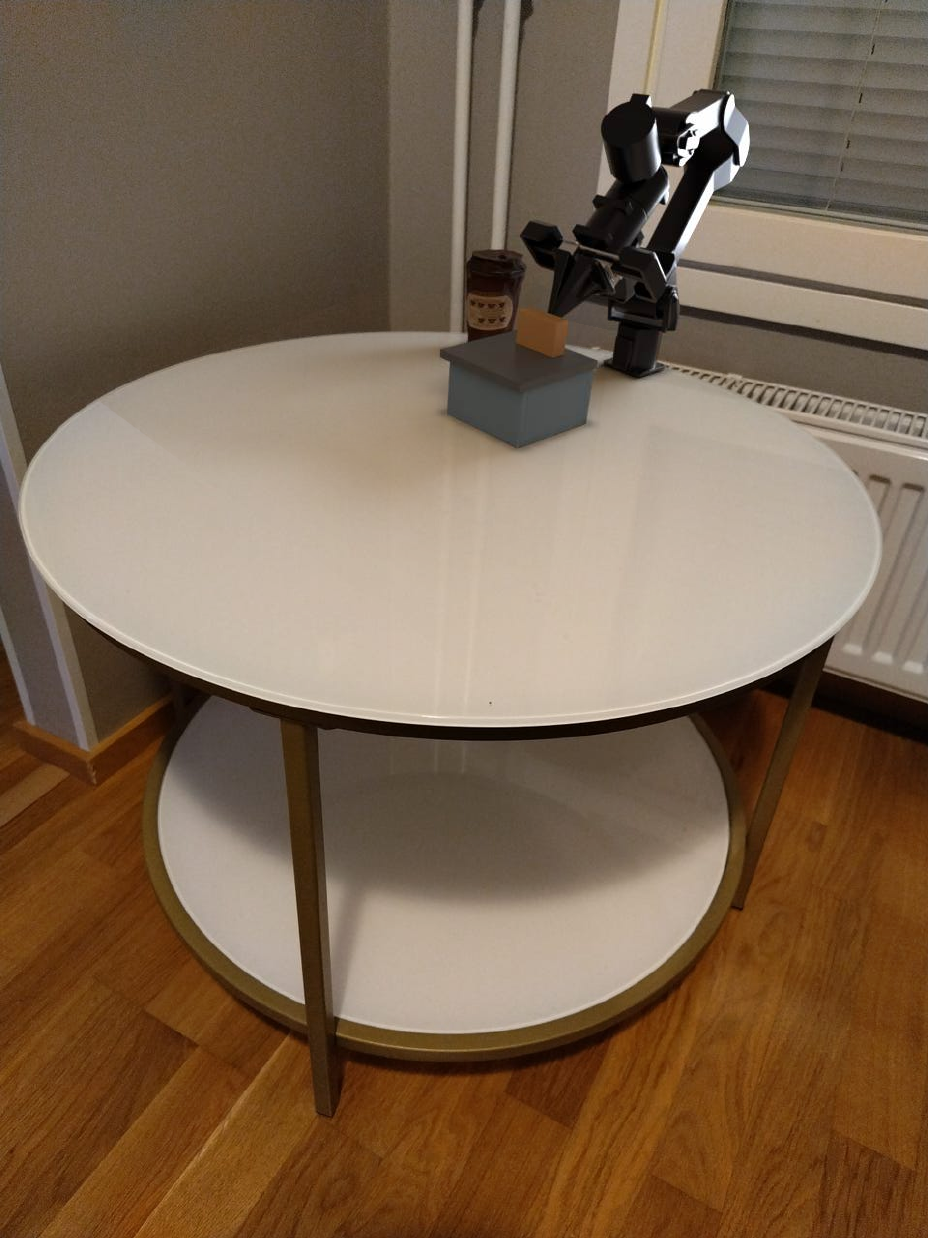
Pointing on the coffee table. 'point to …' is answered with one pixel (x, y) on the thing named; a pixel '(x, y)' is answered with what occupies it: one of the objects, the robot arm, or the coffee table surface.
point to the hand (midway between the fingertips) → (550, 319)
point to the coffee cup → (493, 292)
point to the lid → (523, 353)
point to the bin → (518, 406)
